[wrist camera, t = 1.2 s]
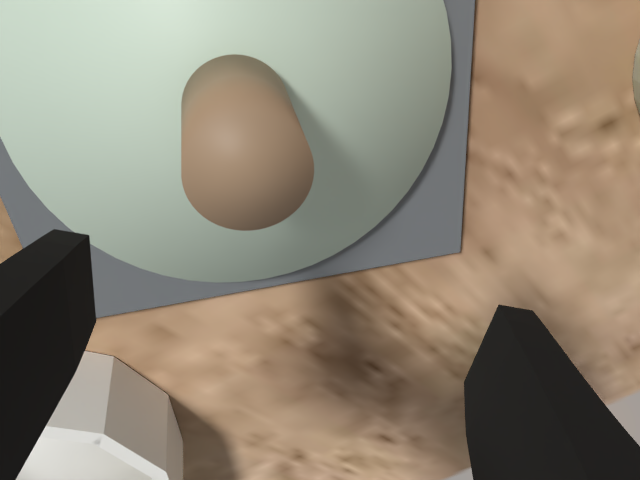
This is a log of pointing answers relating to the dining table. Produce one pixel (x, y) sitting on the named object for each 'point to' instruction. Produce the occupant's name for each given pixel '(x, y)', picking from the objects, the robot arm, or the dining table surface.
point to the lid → (222, 123)
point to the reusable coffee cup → (637, 77)
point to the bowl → (108, 429)
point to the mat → (367, 252)
